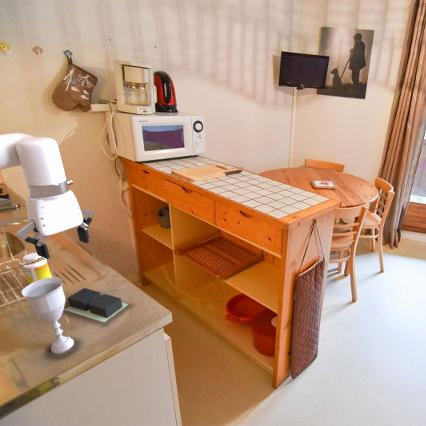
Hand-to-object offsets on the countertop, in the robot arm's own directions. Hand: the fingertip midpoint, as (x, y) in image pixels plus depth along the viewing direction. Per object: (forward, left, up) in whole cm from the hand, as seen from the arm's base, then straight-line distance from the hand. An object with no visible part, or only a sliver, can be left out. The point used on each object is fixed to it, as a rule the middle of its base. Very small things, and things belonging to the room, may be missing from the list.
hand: (65, 249), depth 85 cm
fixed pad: (+10, 0, -17) cm, 20 cm away
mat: (+6, 0, -18) cm, 19 cm away
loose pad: (+2, 0, -17) cm, 18 cm away
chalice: (+11, -13, -18) cm, 25 cm away
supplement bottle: (-19, +3, -18) cm, 26 cm away
